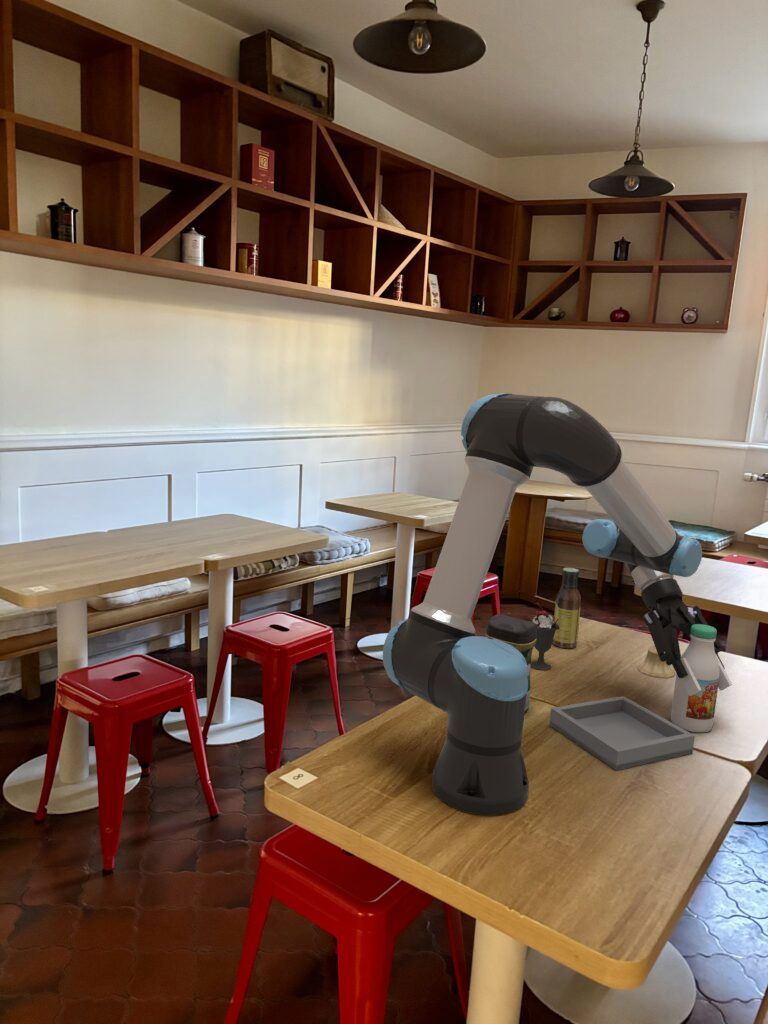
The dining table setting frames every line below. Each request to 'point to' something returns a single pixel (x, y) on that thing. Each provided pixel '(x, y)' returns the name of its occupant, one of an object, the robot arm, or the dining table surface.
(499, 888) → the dining table surface
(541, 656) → the sundae
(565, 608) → the sauce bottle
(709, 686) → the milk bottle
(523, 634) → the coffee jar
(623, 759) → the serving tray
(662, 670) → the hand bell
